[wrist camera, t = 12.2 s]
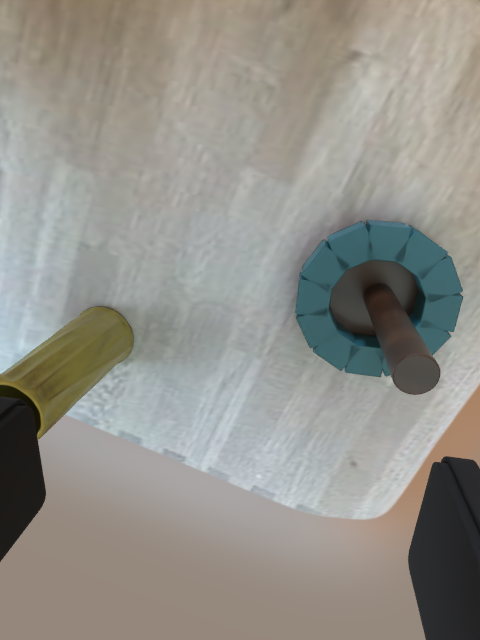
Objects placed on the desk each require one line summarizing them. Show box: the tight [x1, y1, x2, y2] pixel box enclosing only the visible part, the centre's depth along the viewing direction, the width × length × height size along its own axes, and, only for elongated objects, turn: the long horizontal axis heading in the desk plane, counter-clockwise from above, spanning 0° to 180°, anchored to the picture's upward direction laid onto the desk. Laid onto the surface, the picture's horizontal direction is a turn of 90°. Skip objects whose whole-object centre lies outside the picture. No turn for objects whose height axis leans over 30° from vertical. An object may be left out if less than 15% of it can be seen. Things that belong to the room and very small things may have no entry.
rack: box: [330, 260, 440, 395], centre depth 29 cm, size 8×8×15 cm
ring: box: [295, 220, 463, 377], centre depth 34 cm, size 12×12×3 cm
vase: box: [0, 307, 133, 439], centre depth 35 cm, size 6×6×14 cm
